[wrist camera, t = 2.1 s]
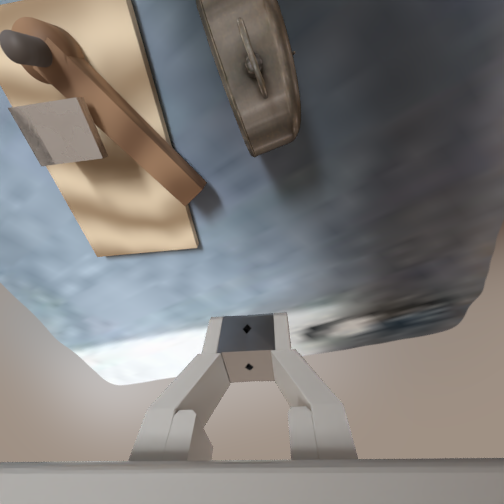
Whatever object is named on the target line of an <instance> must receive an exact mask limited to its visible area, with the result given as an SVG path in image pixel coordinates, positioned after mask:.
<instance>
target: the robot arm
mask: <svg viewBox="0 0 504 504" xmlns="http://www.w3.org/2000/svg"><path fill="white" fill-rule="evenodd" d="M248 381H275V383H276V384H277V386H278V388H279V389H280V391H281V393H282V394H283V396H284V397H285V399H286V401H287V402H288V404H289V406H290V407H291V408H290V410H289V411H288V421H289V434H290V448H291V460H211V459H212V451H213V446H212V444H211V442H210V440H209V438H208V436H207V434H206V432H205V430H204V429H203V428H204V426H205V425H206V423H207V421H208V420H209V418H210V416H211V415H212V413H213V411H214V409H215V408H216V407H217V405H218V403H219V402H220V400H221V398H222V397H223V395H224V394H225V392H226V390H227V389H228V387H229V386H230V383H233V382H248ZM0 504H504V458H455V459H454V458H449V459H448V458H445V459H358V457H357V453H356V449H355V446H354V442H353V438H352V434H351V431H350V427H349V424H348V420H347V416H346V412H345V408H344V405H343V403H342V402H341V401H340V400H339V399H338V398H337V396H336V395H335V394H334V393H333V392H332V391H331V390H330V388H329V387H328V386H327V385H326V384H325V383H324V382H323V380H322V379H321V378H320V377H319V376H318V375H317V374H316V372H315V371H314V370H313V369H312V368H311V367H310V365H308V363H307V362H306V361H305V360H304V359H303V357H302V356H301V355H300V354H299V353H298V352H297V351H296V349H291V342H290V334H289V326H288V318H287V313H274V315H273V313H270V314H257V315H248V316H224V317H211V319H210V320H209V324H208V328H207V333H206V337H205V341H204V345H203V350H202V354H198V355H197V356H196V357H195V358H194V359H193V360H192V361H191V362H190V363H189V364H188V365H187V367H186V368H185V369H184V370H183V371H182V372H181V373H180V374H179V375H178V376H177V377H176V379H175V380H174V381H173V382H172V383H171V384H170V385H169V386H168V387H167V388H166V389H165V391H164V392H163V393H162V394H161V395H160V396H159V397H158V398H157V399H156V400H155V402H154V403H153V404H152V405H151V406H150V407H149V408H148V409H147V411H146V414H145V417H144V419H143V422H142V425H141V428H140V430H139V433H138V436H137V439H136V441H135V444H134V447H133V449H132V452H131V455H130V458H129V461H100V462H99V461H94V462H93V461H91V462H0Z"/></svg>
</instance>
